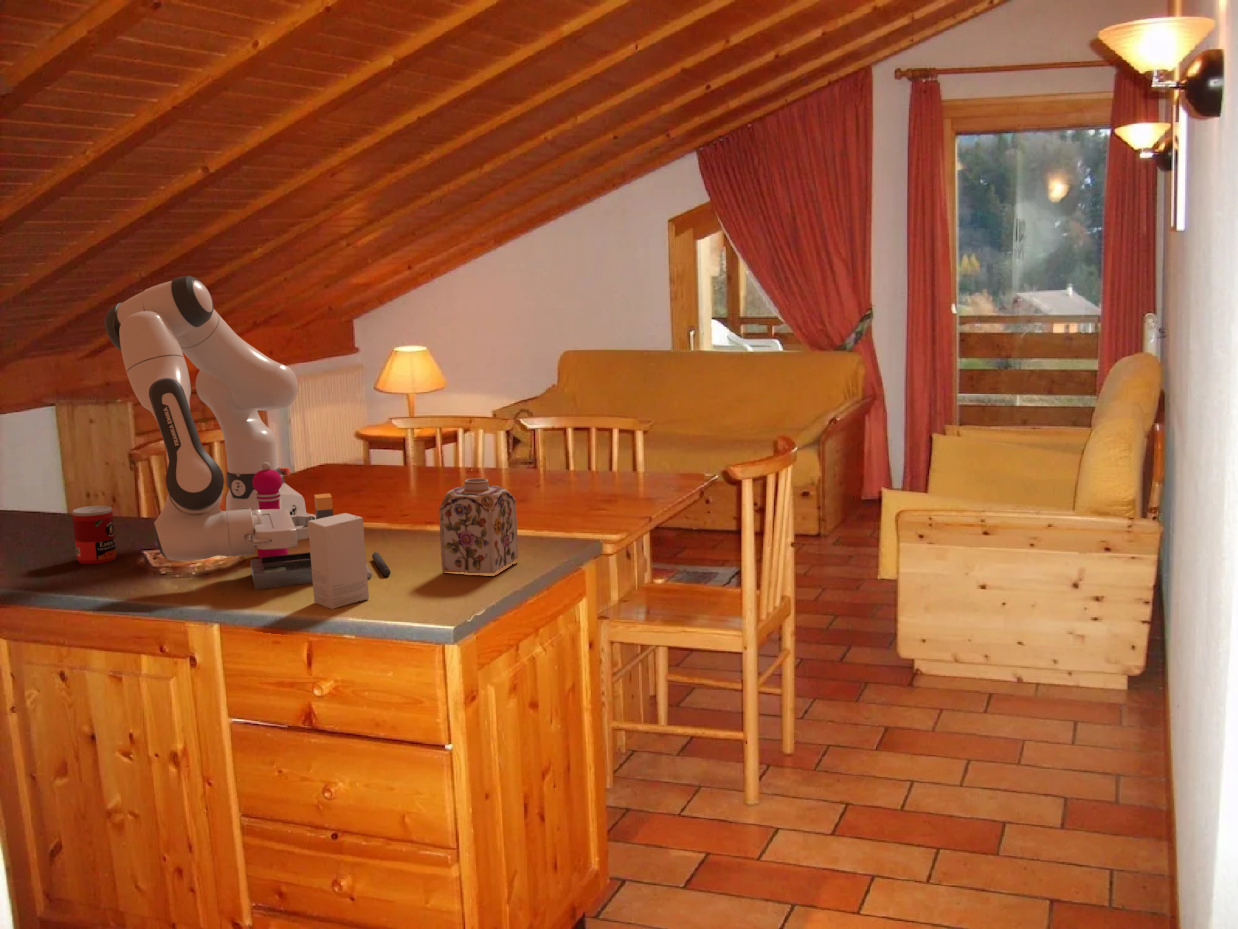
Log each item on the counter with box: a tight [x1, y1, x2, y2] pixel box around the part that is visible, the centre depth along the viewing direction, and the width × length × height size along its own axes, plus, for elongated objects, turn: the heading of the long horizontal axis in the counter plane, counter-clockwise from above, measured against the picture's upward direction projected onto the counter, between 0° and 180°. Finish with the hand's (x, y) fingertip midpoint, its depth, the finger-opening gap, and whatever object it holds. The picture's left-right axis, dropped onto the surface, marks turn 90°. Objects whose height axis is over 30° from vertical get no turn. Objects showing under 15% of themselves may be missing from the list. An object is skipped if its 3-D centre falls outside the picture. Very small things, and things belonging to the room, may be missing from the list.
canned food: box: [71, 505, 117, 565], centre depth 265 cm, size 8×8×11 cm
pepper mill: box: [252, 462, 289, 559], centre depth 264 cm, size 7×7×20 cm
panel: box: [250, 551, 313, 590], centre depth 248 cm, size 18×12×4 cm, turn 109°
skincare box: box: [307, 512, 370, 610], centre depth 228 cm, size 8×7×16 cm
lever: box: [313, 493, 334, 519], centre depth 248 cm, size 3×4×12 cm
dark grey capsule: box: [366, 551, 392, 579], centre depth 252 cm, size 16×5×2 cm, turn 19°
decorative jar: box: [438, 477, 519, 573], centre depth 249 cm, size 12×12×18 cm
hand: (317, 525), depth 247 cm, fingers open, 8 cm apart
